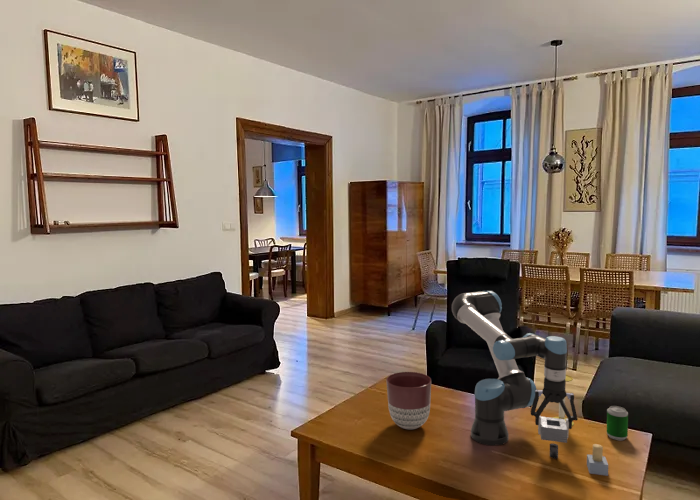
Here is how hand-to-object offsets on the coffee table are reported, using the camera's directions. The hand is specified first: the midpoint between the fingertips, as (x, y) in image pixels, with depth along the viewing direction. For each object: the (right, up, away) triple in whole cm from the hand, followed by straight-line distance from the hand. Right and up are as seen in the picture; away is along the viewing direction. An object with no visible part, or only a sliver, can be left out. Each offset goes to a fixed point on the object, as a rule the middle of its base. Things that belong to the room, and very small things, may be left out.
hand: (552, 434), depth 184 cm
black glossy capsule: (0, -9, 0) cm, 9 cm away
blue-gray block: (+12, -9, -10) cm, 18 cm away
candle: (+16, -6, +29) cm, 33 cm away
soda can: (+32, -7, +14) cm, 36 cm away
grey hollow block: (0, 0, 0) cm, 0 cm away
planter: (-51, -8, +28) cm, 59 cm away
